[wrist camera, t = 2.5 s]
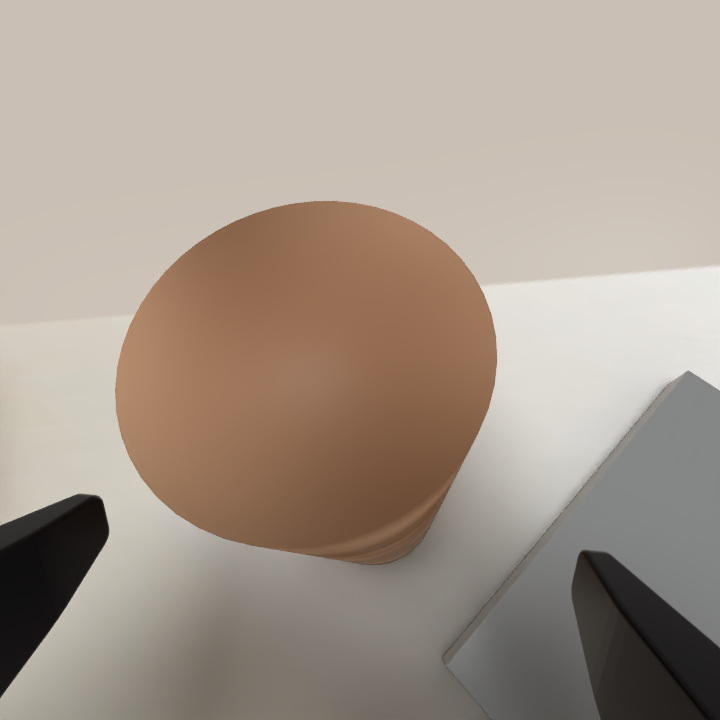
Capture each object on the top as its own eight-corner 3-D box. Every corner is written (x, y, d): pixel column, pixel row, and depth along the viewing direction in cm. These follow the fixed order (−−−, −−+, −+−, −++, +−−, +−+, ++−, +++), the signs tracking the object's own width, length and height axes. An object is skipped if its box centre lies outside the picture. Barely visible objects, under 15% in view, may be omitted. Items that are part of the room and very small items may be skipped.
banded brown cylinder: (370, 596, 16) (270, 666, 4) (285, 495, 18) (52, 347, 6) (461, 496, 17) (581, 333, 5) (373, 412, 19) (318, 156, 7)
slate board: (741, 1005, 11) (789, 1066, 10) (442, 657, 15) (445, 666, 13) (955, 579, 14) (1012, 579, 13) (667, 385, 18) (688, 370, 17)
